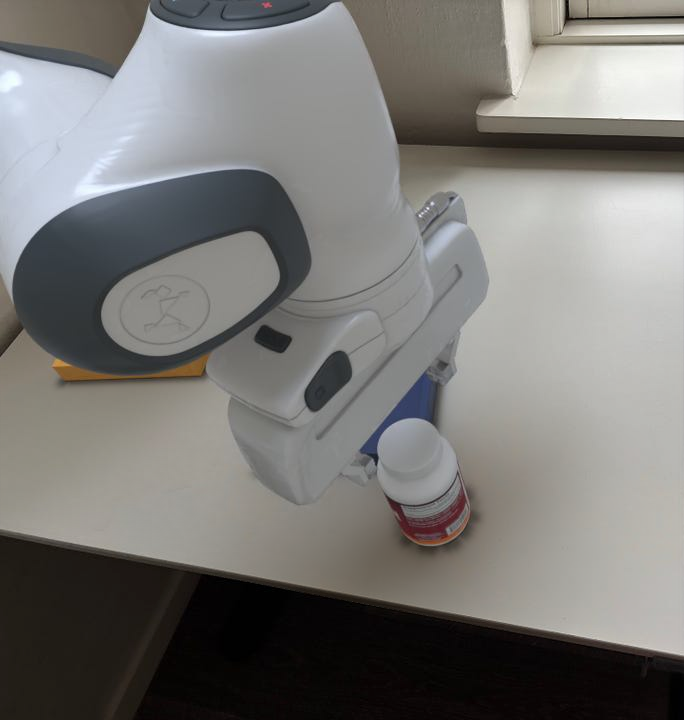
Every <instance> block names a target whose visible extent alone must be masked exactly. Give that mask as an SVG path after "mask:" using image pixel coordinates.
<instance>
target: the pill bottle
mask: <svg viewBox="0 0 684 720" xmlns="http://www.w3.org/2000/svg"><path fill="white" fill-rule="evenodd" d="M377 452H378V456H379V460H378V464H377V468H378V470H377V471H376V477H377V480H378V483H379V486H380V489H381V490H382V492H383V494H384V496H385V499H386V501H387V503H388V505H389V508H390V510H391V512H392V514H393V516H394V518H395V519H396V522H397V524H398V527H399V528H400V530H401V531H402V533H403V534H404V536H405V537H407V539H409V541H412V542H413V543H415V544H417V545H420V546H425V547H437V546H442V545H444V544H447V543H450V542H451V541H453V540H454V539H456V538H457V537H458V536H459V535H460V534H462V532H463V531H464V530H465V528H466V526H467V524H468V522H469V519H470V514H471V502H470V498H469V495H468V491H467V488H466V485H465V484H466V483H465V481H464V477H463V474H462V471H461V467H460V464H459V461H458V458H457V455H456V452H455V450H454V448H453V446H452V445H451V443H450V442H449V441H448V440H447V439H446V438H445V437H444V436H442V435H441V434H440V432H439V431H438V429H437V428H436V426H435V425H434V424H433V423H432V424H431V423H429V422H428V421H425V420H423V419H418V418H409V419H404V420H400V421H398V422H396V423H394V424H392V425H391V426H389V427H388V428H387V429H386V430H385V431H384V432H383V434H382V435H381V437H380V439H379V442H378V446H377Z"/></svg>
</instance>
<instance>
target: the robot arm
mask: <svg viewBox="0 0 684 720" xmlns="http://www.w3.org/2000/svg"><path fill="white" fill-rule="evenodd" d="M375 69H376V68H375V66H374V64H373V61H372V58H371V56H370V53H369V51H368V48H367V46H366V44H365V41H364V39H363V36H362V34H361V32H360V30H359V28H358V26H357V24H356V22H355V20H354V18H353V17H352V15H351V13H350V11H349V10H348V8H347V7H346V5H345V4H344V2H342V1H341V0H151V1H150V2H149V4H148V7H147V11H146V14H145V19H144V22H143V26H142V29H141V31H140V33H139V35H138V38H137V39H136V41H135V43H134V44H133V46H132V48H131V50H130V51H129V53H128V55H127V56H126V58H125V60H124V62H123V63H122V64H121V66H120V67H118V66H116V65H115V64H113V63H110V62H108V61H106V60H103V59H102V58H98V57H95V56H92V55H89V54H86V53H82V52H77V51H73V50H68V49H64V48H63V49H62V48H55V47H49V46H41V45H32V44H24V43H16V42H11V41H6V40H0V275H1V278H2V281H3V283H4V286H5V288H6V290H7V293H8V296H9V298H10V300H11V302H12V304H13V307H14V310H15V313H16V316H17V318H18V320H19V323H20V325H21V326H22V327H23V329H24V330H25V332H26V333H27V335H28V336H29V337H30V338H31V339H32V341H34V342H35V343H36V344H37V346H39V347H40V348H41V349H42V350H44V351H45V352H47V354H49V355H51V356H52V357H54V358H55V359H56V358H57V359H59V360H61V361H63V362H65V363H67V364H69V365H72V366H74V367H77V368H80V369H83V370H87V371H91V372H96V373H101V374H108V375H116V376H141V375H151V374H156V373H161V372H165V371H169V370H173V369H176V368H179V367H181V366H184V365H187V364H189V363H191V362H193V361H195V360H198V359H199V358H201V357H203V356H205V355H207V354H208V353H210V352H211V353H210V356H209V358H208V360H207V363H206V366H205V372H206V374H207V376H208V378H209V379H210V380H211V382H212V383H213V384H214V385H215V386H217V387H218V388H219V389H221V390H222V391H223V392H224V393H225V394H227V395H228V396H230V397H229V401H228V405H227V421H228V425H229V428H230V431H231V433H232V436H233V438H234V441H235V442H236V444H237V446H238V448H239V451H240V452H241V455H242V456H243V458H244V461H245V462H246V463H247V465H248V467H249V468H250V470H251V471H252V473H253V475H254V476H255V477H256V479H257V480H258V481H259V482H260V483H261V484H262V485H263V486H265V487H266V488H267V489H268V490H270V491H271V492H273V493H274V494H276V495H277V496H279V497H280V498H282V499H284V500H285V501H288V503H291V504H293V505H296V506H299V507H300V506H302V507H303V506H308V505H312V504H315V503H316V502H318V501H319V499H320V498H321V497H322V496H323V494H324V493H325V492H326V491H327V490H328V488H329V487H330V486H331V485H332V484H333V482H334V481H335V480H336V479H337V477H339V476H340V475H342V476H346V477H347V479H349V480H350V481H352V482H354V483H355V484H357V485H359V486H361V487H366V486H367V484H368V483H369V482H370V480H371V479H372V478H373V476H374V475H375V474H376V473H377V470H378V468H377V467H376V466H375V462H374V459H373V458H372V457H370V456H368V455H366V454H361V452H360V451H359V450H360V449H361V447H362V446H363V445H364V444H365V443H366V441H367V440H368V439H369V438H370V437H371V435H372V434H373V433H374V432H375V431H376V429H377V428H378V427H379V426H380V425H381V423H382V422H383V421H384V420H385V419H386V417H387V416H388V415H389V414H390V413H391V411H392V410H393V409H394V408H395V407H396V405H397V404H398V403H399V402H400V401H401V399H402V398H403V397H404V396H405V395H406V393H407V392H408V391H409V390H410V389H411V387H412V386H413V385H414V384H415V383H416V381H417V380H418V379H419V378H420V377H421V375H422V374H423V373H424V372H425V371H426V375H427V377H428V378H429V379H430V380H432V381H434V382H437V383H438V384H439V385H441V386H446V385H447V384H448V383H449V382H450V381H451V379H452V378H453V377H454V376H455V375H456V373H457V372H458V368H457V365H456V360H455V358H456V354H457V350H458V346H459V342H460V338H461V329H462V328H463V326H464V325H465V324H466V323H467V321H469V319H470V318H471V317H472V316H473V315H474V313H475V312H476V311H477V309H479V307H480V306H481V305H482V304H483V303H484V301H485V300H486V297H487V295H488V290H489V288H490V287H489V286H490V275H489V271H488V267H487V263H486V260H485V256H484V254H483V250H482V248H481V245H480V242H479V240H478V238H477V235H476V233H475V232H474V231H475V230H473V229H472V228H471V227H470V225H468V216H467V211H466V205H465V201H464V199H463V197H462V196H460V195H459V194H458V193H457V192H456V191H451V190H450V191H446V192H444V191H438V192H436V193H434V194H433V195H431V196H430V197H429V198H428V199H427V200H426V202H425V203H424V205H423V206H422V207H421V208H420V209H419V210H418V211H417V212H416V213H415V209H414V207H413V206H412V204H411V202H410V201H409V199H408V197H407V196H406V195H405V193H404V191H403V190H402V187H401V183H400V171H401V154H400V148H399V144H398V141H397V137H396V133H395V130H394V124H393V122H392V118H391V115H390V112H389V109H388V105H387V102H386V98H385V96H384V92H383V90H382V87H381V83H380V80H379V78H378V75H377V71H376V70H375Z"/></svg>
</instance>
